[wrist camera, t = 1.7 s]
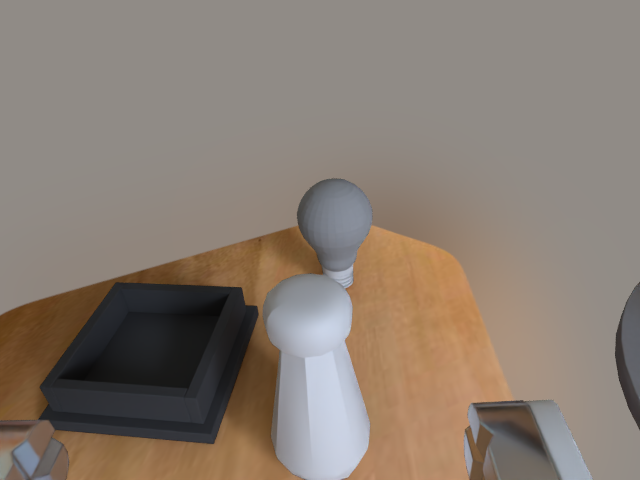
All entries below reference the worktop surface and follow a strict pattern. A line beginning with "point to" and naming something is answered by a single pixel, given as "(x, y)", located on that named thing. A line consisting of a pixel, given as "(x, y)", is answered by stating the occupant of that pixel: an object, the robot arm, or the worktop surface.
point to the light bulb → (335, 225)
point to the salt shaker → (315, 379)
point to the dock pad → (152, 363)
